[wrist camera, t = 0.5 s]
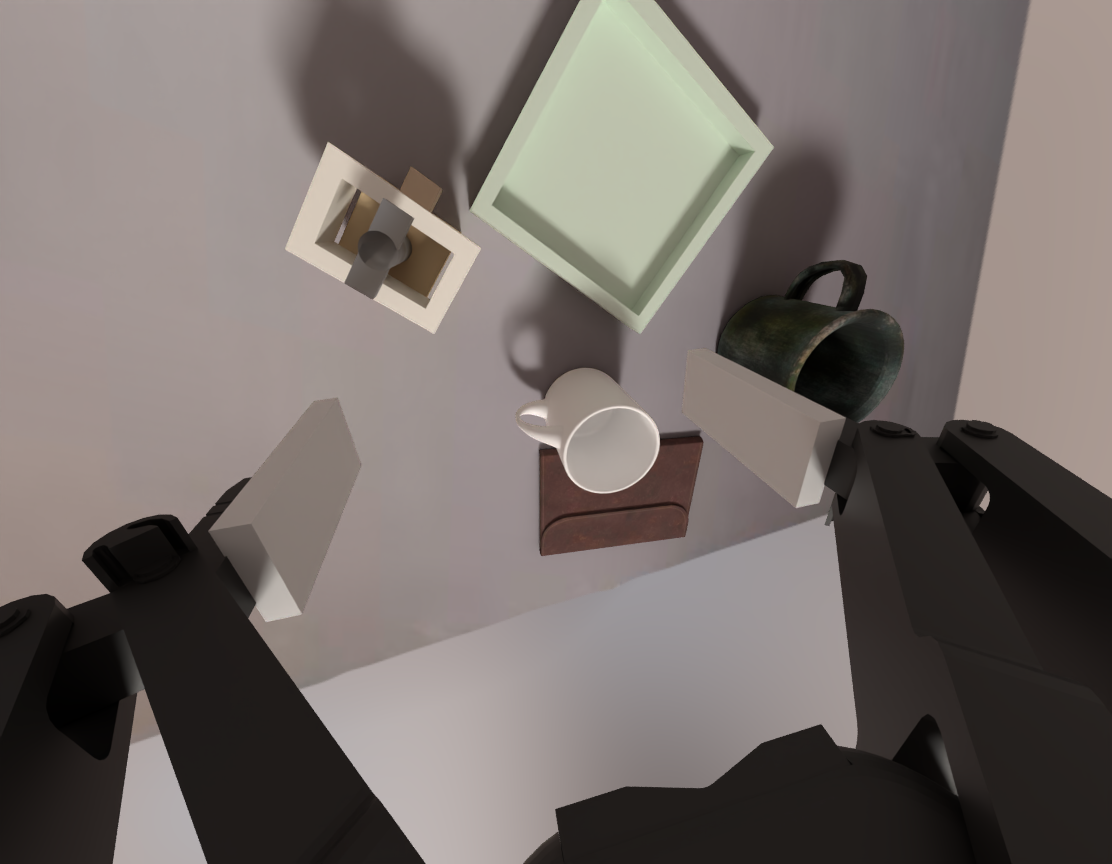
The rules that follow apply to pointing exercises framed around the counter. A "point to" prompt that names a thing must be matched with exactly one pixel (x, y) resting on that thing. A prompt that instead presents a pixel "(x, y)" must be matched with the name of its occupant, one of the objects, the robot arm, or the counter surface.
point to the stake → (390, 248)
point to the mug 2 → (820, 343)
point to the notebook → (618, 502)
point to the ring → (415, 198)
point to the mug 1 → (595, 430)
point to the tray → (621, 159)
